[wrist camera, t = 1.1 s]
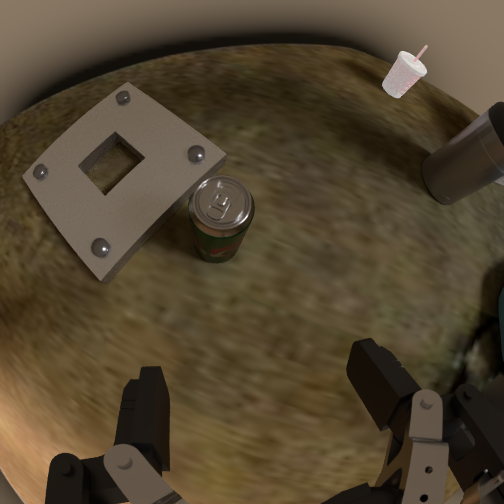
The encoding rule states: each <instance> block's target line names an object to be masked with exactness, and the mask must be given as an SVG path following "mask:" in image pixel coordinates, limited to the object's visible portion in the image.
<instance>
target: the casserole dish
mask: <svg viewBox="0 0 504 504" xmlns="http://www.w3.org/2000/svg"><path fill="white" fill-rule="evenodd" d="M498 311H499V325H500V336H501V350H502V357H503V361H504V287H503V288H502V291H501V293H500V296H499V302H498Z"/></svg>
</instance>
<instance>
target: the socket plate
mask: <svg viewBox="0 0 504 504" xmlns="http://www.w3.org/2000/svg"><path fill="white" fill-rule="evenodd" d="M119 142H121V143H122V144H123V145H124V146H125V147H126V148H128V149H129V150H130V151H131V152H132V153H133V154H134V155H135V156H137V157H138V158H139V159H140V160H141V161H142V162H140V163H139V164H138V165H137V166H136V167H135V168H134V169H133V170H132V171H131V172H129V173H128V174H127V175H126V176H125V177H124V178H123V179H122V180H121V181H120V182H119V183H118V184H117V185H116V186H115V187H114V188H113V189H112V190H111V191H110V192H109V193H108V194H107V195H106V196H104V195H103V194H102V192H101V191H100V190H99V189H98V188H97V187H96V186H95V185H94V184H93V183H92V182H91V181H90V179H89V178H88V177H87V176H86V175H85V173H86V172H88V171H89V170H90V169H91V168H92V167H93V166H94V165H95V164H96V163H97V162H98V161H99V160H100V159H101V158H102V157H103V156H104V155H105V154H107V153H108V152H109V151H110V150H111V149H112V148H113V147H114V146H115V145H117V144H118V143H119ZM226 155H227V154H226V153H225V152H223V151H222V150H221V149H219V148H218V147H217V146H216V145H214V144H213V143H212V142H210V141H209V140H208V139H207V138H205V137H204V136H203V135H201V134H200V133H199V132H197V131H196V130H195V129H193V128H192V127H191V126H189V125H188V124H187V123H185V122H184V121H183V120H181V119H180V118H178V117H177V116H176V115H174V114H173V113H172V112H170V111H169V110H167V109H166V108H165V107H163V106H162V105H160V104H159V103H158V102H156V101H155V100H153V99H152V98H150V97H149V96H148V95H146V94H145V93H143V92H142V91H140V90H139V89H137V88H136V87H134V86H133V85H131V84H130V83H128V82H127V83H125V84H124V85H122V86H121V87H119V88H118V89H117V90H115V91H114V92H113V93H111V94H110V95H109V96H107V97H106V98H105V99H103V100H102V101H101V102H99V103H98V104H97V105H96V106H94V107H93V108H92V109H91V110H89V111H88V112H87V113H86V114H85V115H83V116H82V117H81V118H80V119H79V120H78V121H76V122H75V123H74V124H73V125H72V126H71V127H70V128H69V129H67V130H66V131H65V132H64V133H63V134H62V135H61V136H60V137H59V138H58V139H57V140H56V141H55V142H54V143H53V144H52V145H51V146H50V147H49V148H48V149H47V150H46V151H45V152H44V153H43V154H42V155H41V156H40V157H39V158H38V159H37V160H36V161H35V162H34V163H33V164H32V166H31V167H30V168H29V169H28V170H27V171H26V172H25V173H24V175H23V176H22V177H23V179H24V180H25V182H26V183H27V185H28V187H29V188H30V190H31V191H32V193H33V194H34V196H35V197H36V199H37V200H38V202H39V203H40V205H41V206H42V208H43V209H44V211H45V212H46V213H47V215H48V216H49V218H50V219H51V220H52V222H53V223H54V225H55V226H56V227H57V229H58V230H59V231H60V233H61V234H62V235H63V237H64V238H65V239H66V240H67V242H68V243H69V244H70V246H71V247H72V248H73V249H74V251H75V252H76V253H77V254H78V256H79V257H80V258H81V259H82V260H83V262H84V263H85V264H86V265H87V266H88V268H89V269H90V270H91V271H92V272H93V273H94V274H95V276H96V277H97V278H98V279H99V280H100V281H101V282H104V283H107V284H108V283H109V282H110V281H111V280H112V279H113V278H114V277H115V275H116V274H117V273H118V272H119V271H120V270H121V269H122V267H123V266H124V265H125V264H126V263H127V262H128V261H129V260H130V259H131V257H132V256H133V255H134V254H135V253H136V252H137V251H138V250H139V249H140V248H141V247H142V245H143V244H144V243H145V242H146V241H147V240H148V239H149V238H150V237H151V236H152V235H153V234H154V233H155V232H156V231H157V230H158V229H159V228H160V227H161V226H162V225H163V224H164V223H165V221H166V220H167V219H168V218H169V217H170V216H171V215H172V214H173V213H174V212H175V211H176V210H177V209H178V208H179V207H180V206H182V205H183V204H184V203H185V202H186V201H187V200H188V199H189V198H190V196H191V194H192V192H193V191H194V189H195V188H196V187H197V186H198V185H199V184H200V183H201V182H203V181H204V180H205V179H207V178H209V177H212V176H213V175H214V174H215V173H216V172H217V171H219V170H220V169H221V168H222V167H223V166H224V165H225V162H226Z"/></svg>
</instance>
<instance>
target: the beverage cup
mask: <svg viewBox="0 0 504 504" xmlns="http://www.w3.org/2000/svg"><path fill="white" fill-rule="evenodd" d="M427 47H428V46H427V45H425V47H424V48H423V49H422V50H421V52H420V53H419V54H418V55H417V57H414V56H413V55H411V54H410V53H407V52H404V51H402V52H400V53H399V55H398V59H397V60H396V62H395V64H394V65H393V67H392V68H391V70H390V72H389V73H388V75H387V76H386V78H385V80H384V81H383V83H382V86H383V88H384V89H385V91H386V92H387V93H388V94H390V95H391V96H393V97H395V98H400V97H401V96H402V95H403V94H404V93H405V92H406V91H407V90H408V89H409V88H410V87H411V86H412V85H413V84H414V83H415V82H416V81H417V80H418V79H419V78H420V77H421V76H424V75H425V74H426V73H427V70H426V68H425V66H424V65H423V64H422V63H421V62H420V61H419V60H418V58H419V57H420V56H421V54H422V53H423V52H424V51H425V50H426V48H427Z"/></svg>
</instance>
